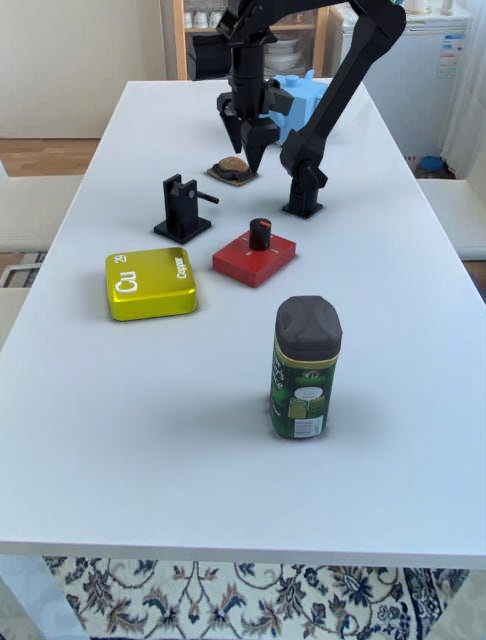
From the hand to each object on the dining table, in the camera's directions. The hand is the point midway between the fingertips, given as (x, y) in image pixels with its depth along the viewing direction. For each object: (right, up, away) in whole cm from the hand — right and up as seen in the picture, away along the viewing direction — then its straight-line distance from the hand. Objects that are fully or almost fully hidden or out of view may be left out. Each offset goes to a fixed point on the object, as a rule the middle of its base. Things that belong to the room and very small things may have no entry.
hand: (245, 162), depth 110 cm
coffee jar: (+5, -49, -29) cm, 57 cm away
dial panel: (+1, -20, -2) cm, 20 cm away
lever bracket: (-13, -11, +7) cm, 18 cm away
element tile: (-18, -27, -8) cm, 33 cm away
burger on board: (-2, +7, +23) cm, 24 cm away
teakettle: (+12, +22, +36) cm, 44 cm away
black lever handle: (-11, -6, +4) cm, 13 cm away
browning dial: (+2, -17, -4) cm, 18 cm away
